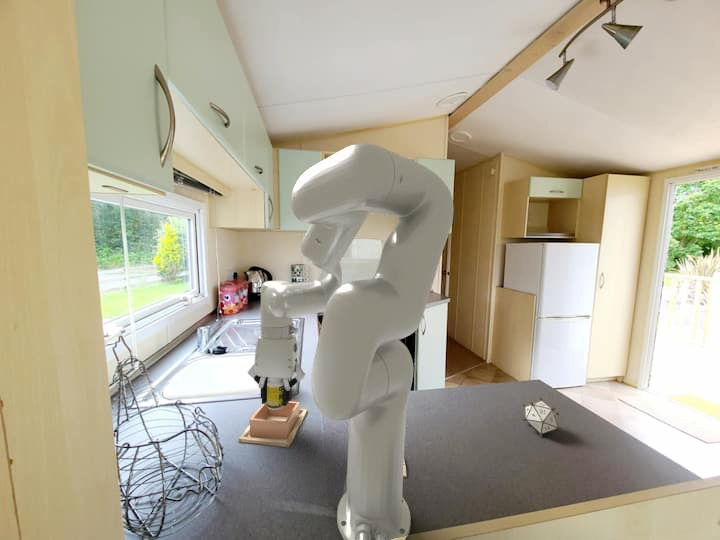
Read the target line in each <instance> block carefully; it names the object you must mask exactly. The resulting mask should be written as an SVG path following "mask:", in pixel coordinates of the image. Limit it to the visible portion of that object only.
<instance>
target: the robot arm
mask: <svg viewBox="0 0 720 540" xmlns="http://www.w3.org/2000/svg"><path fill="white" fill-rule="evenodd" d="M290 206H291V210H292V213H293V215H294V217H295V218H296V219H297V220H298V221H300V222H301V223H304V224H309V227H308V229H307V231H306V233H305V235H304V237H303V238H302V240H301V244H300V250H301V253H302V255H303V256H304V258H305V259H306V260H307V261H308V262H309V263H310V264H312V265H313V266H315V267H316V268H319V269H320V272H319V274H318V276H317V278H315V280H314V281H313V282H311V281H310V282H298V283H291V282H290V281H286V280H268V281H264V282H263V283H262V284H261V287H260V334H259V336H258V338H257V342H256V348H255V353H254V363H253V364H252V366H251V367H250V368H249V370H248V371H247V374H248V375H249V376H250V377H251V378H252V379H253V380H254V381H255V382H256V383H257V386H258V388H259V389H260V399H261V405H262V404H265V403H266V402H267V382H268V379H269V378H282V379H283V382H284V386H285V389H284V390H283V405H284V406H286V405H287V404H288V402H289V401H291V400H292V397H293V396H292V395H293V394H292V393H293V387H294V386H295V385H296V384H297V383H299V382H300V381H302V380H304V378H305V377H306V373H305V372H304V370H303V369H302V368H301V366H300V360H299V357H300V356H299V347H298V342H297V341H298V340H297V335H295V334H298V331H299V327H296V326H294V323H293V321H294V320H293V318H297V317H303V316H308V315H314V314H319V313H321V312H324V313H323V316H322V321H321V325H320V326H321V327H320V331H319V335H318V341H317V345H316V348H315V349H316V350H315V354H314V358H313V359H314V360H313V364H312V370H311V379H310V380H311V392H312V397H313V400H314V403H315V405H316V407H317V408H318V410H319V411H320V413H321V414H322V415H324V416H325V417H326V418H328V419H330V420H334V421H341V422H342V421H347V420H348V432H347V434H348V435H347V467H346V472H347V474H346V491H345V493H344V494H343V495H342V497H341V498H340V499H339V500H340V501H339V503H338V506H337V510H336V521H337V523H336V524H337V528H338V530H339V531H338V532H339V533H340V535H341V538H342V539H343V540H391V539H394V538H399V537H405V536H407V535H408V536H409V534H410V532H411V531H410V530H411V512H410V509H409V506H408V503H407V502H406V500H405V498H404V497H403V485H404V484H403V483H404V482H403V481H404V477H403V465H404V460H405V457H404V456H405V442H406V441H405V439H406V438H405V437H406V423H407V422H406V420H407V411H408V404H409V403H408V402H409V397H410V393H411V389H412V384H413V378H414V363H413V358H412V355H411V353H410V351H409V349H408V347H407V346H406V345H405V344H404V343H403V342H402V341H401V340H402V339H405V338H406V337H407V338H408V336H410V335H412V334H414V333H415V332H416V331H417V330H418V328H419V327H420V325H421V322H422V319H423V317H424V314H425V311H426V307H427V302H428V300H429V297H430V293H431V291H432V286H433V284H434V282H435V279H436V278H435V277H436V274H437V270H438V266H439V264H440V260H441V257H442V254H443V251H444V249H445V246H446V243H447V239H448V237H449V235H450V232H451V228H452V224H453V220H454V211H455V210H454V209H455V208H454V201H453V195H452V193H451V191H450V189H449V187H448V185H447V183H445V181H444V180H443V179H442V178H441V177H440V176H439V175H438V174H437V173H435V172H434V171H433V170H432V169H430V168H428V167H427V166H424V164H421V163H419V162H417V161H415V160H412V159H411V158H409V157H405V156H403V155H400V154H398V153H395V152H394V151H391V150H389V149H387V148H385V147H382V146H380V145H378V144H377V145H376V144H374V143H369V142H368V143H367V142H359V143H355V144H351V145H350V146H347V147H345V148H344V149H342V150H339V151H337V152H336V153H334V154H332V155H330V156H329V157H327V158H325V159H324V160H322V161H319V162H318V163H316V164H315V165H313V166H312V167H309V169H307V170H306V171H305V172H304V173H303V174H302V175H301V176H300V177H299V178H298V179H297V181H296V183H295V185H294V187H293V190H292V193H291V198H290ZM370 213H374V214H375V213H376V214H381V215H388V216H393V217H396V218H397V219H398V223H397V224H396V226H395V227H394V228H393V229H392V231H391V232H390V233H389V235H388V236H387V238H386V240H385V243H384V245H383V247H382V250H381V253H380V259H379V263H378V266H377V269H376V271H375V273H374V276H373V277H372V278H370V279H358V280H353V281H348V282H346V283H344V284H342V277H343V275H342V271H343V270H342V267H341V266H342V265H341V264H340V263H341V260H342V259H343V257H344V255H345V254H346V252H347V251H348V249H349V248H350V246H351V244H352V243H353V241H354V239H355V238H356V236H357V234H358V233H359V231H360V229H361V227H362V226H363V224H364V223H365V221H366V220H367V217H368V216H369V215H370ZM294 374H296V376H294Z"/></svg>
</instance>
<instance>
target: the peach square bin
mask: <svg viewBox="0 0 720 540" xmlns="http://www.w3.org/2000/svg"><path fill="white" fill-rule="evenodd" d="M300 403H301V402H300V401H291V400H290V401H289V402H288V404H287V405H286V406H284V407H283V408H282V409H279V410H270V409H268V408H267V402H266V403H265V404H262V403H261V406H260V407H259V408H258V409H257V410H256V411H255V412H254V413H253V415H252V416H251V417H250V419H249V425H250V436H258V437H267V438H277V439H287V438H288V436H289V435H290V433H291V431H292V429H293V427H294V426H295V424H296V422H297V420H298V418H299V412H300V409H301V408H300V406H301V405H300ZM267 415H273V416H284V417H288V418H287V420H286V421H276V420H265V418H266V417H267Z"/></svg>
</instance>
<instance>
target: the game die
mask: <svg viewBox="0 0 720 540" xmlns="http://www.w3.org/2000/svg"><path fill="white" fill-rule="evenodd" d="M521 405H522V407H524V408H525V410H524V412H525V413H524V414H525V418H522V421H524V422H525V421H526V422H527V426H531V427H533V429H535V431H537V432H538V433H539V437H540V438H542V437H543V434H546V433H549V432H552V431H556V430H559V431H562V430H563V429H562V428H561V427H559V423H558V416H559V415H560V413H559V412H555V410H556V407H550V406H549V405H548V404H547V403H545V402H544V401H543V398H542V396H540V397H539V400H537V401H535V402H533V401H532V402H530V404H523V403H522V404H521Z"/></svg>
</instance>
